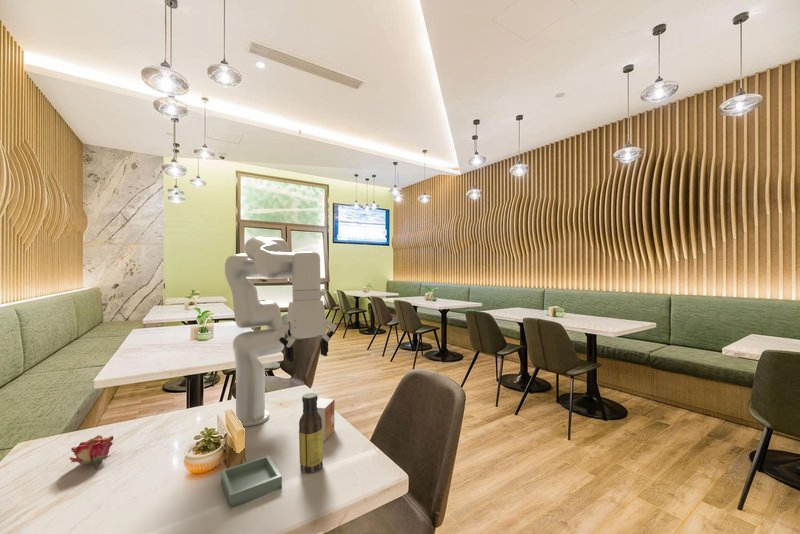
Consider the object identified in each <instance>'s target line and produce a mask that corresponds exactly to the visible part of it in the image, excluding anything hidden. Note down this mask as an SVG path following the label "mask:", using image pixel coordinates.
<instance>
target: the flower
mask: <svg viewBox="0 0 800 534" xmlns="http://www.w3.org/2000/svg"><path fill="white" fill-rule="evenodd" d="M112 441H114V435H110V436H108V437H104V436H102V435H96V436H95V437H93V438H90V439H89V440H87V441H82V442H80V443H79V445H78V446H75V447H74V446H73V447H71V450H70V451H71V452H72V453H73V455H74V456H75V457H73V456H70V457H69V460H70V461H71V463H79V464H81V465H86V466H87V465H88V466H89V465H93V470H95V469H98V464H99V463H102V462H103V461H104V460H107V459H108V458H110V456H111V455H113V454H114V453H115V451H113V452H112V453H111V454H109V452H110V449H111V447H112V446H113V444H114V443H113V442H112Z"/></svg>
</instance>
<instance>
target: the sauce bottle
mask: <svg viewBox="0 0 800 534" xmlns="http://www.w3.org/2000/svg"><path fill="white" fill-rule="evenodd" d="M301 399H302V400H301V402H302V409H303V410H302V415H301V417H300V418H299V420H298V421H299V422H298V427H299V429H298V443H299V445H298V446H299V464H300V465H299V466H300V472H302V473H304V474H314V473H315V472H316V473H317V472H318V471H319V470H321V468H323V465H324V464H323V459H324V444H323V443H324V441H323V435H322V420H321V416H320V415H319V413H318V412H317V400H318V399H319V398H318V394H317V393H316V392H309V393H305V394H303V395H302V396H301Z"/></svg>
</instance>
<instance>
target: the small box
mask: <svg viewBox="0 0 800 534" xmlns="http://www.w3.org/2000/svg"><path fill="white" fill-rule="evenodd" d="M317 412H318V413H319V415H320V416H321V420H322V435H323V442H326V440H327V439H328V438H329V437H330V436H331V434H332V433H333V432H334V431H335V399H334V398H325V397H320V398H318V399H317Z"/></svg>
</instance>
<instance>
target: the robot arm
mask: <svg viewBox="0 0 800 534" xmlns="http://www.w3.org/2000/svg"><path fill="white" fill-rule="evenodd" d="M244 252H245V253H237V254H236V253H235V254H231V255H230V256H228V257H226V260H225V262H224V275H225V278H226V281H227V284H228V286H229V288H230V291H231V295H232V304H233V305H232V306H233V313H234V320H235V321H234V322H235V324H236V326H237V327H238V328H240V329H254V328H260V327H261V328H262V327H265V328H266V329H260V330H253V331H252V330H251V331H245V332H241V333H239V334H238V335H237V336H235V337H234V339H233V341H232V342H233V343H232V349H233V353H234V359H235V414H236V416H237V417H238V419H239V420H240V421H241V423H242V425H243V426H244V427H243V428H246V427H253V426H257V425H260V424H262V423H264V422H266V421H267V420H268V419H269V417H270V411H268V410H267V409H265V408H266V407H265V406H266V397H265V396H266V390H265V389H266V385H265V384H266V372H265V371H266V370H265V367H264V365H263V363H261V361H260V360H259V358H260V357H267V356H272V355H276V354H278V353H281V352H282V351H283V350H284V358H285V359H286V361H288V362H289V363H293V362H294V347H293V346H292V345H293V344H294V342H295V341H296V340H301V339H308V338H316V337H319V338H320V339H321V340H320V342H319V343H320V345H319V348H320V350H319V351H320V355H321V356H324V357H328V352H329V342H330V341H331V338H333V336H334V334H335V331H336V329H337V324H335V323H333V322H331V321H328V320H327V317H326V316H327V315H326V309H325V304H324V301H323V299H322V298H323V297H325V295H326V291H325V290H323V291H322V289H321V256H320V255H319V253H318V252H316V251H297V252H296V251H295V252H290V247H289V244H288V243H287V241H286V240H285V239H283V238H279V237H270V236H269V237H267V236H266V237H265V236H264V237H263V236H255V237H251V238H248V240H247V241H246V242H245V244H244ZM249 277H250V278H253V277H255V278H258V277H265V278H267V279H268V278H269V279H275V280H276V279H291V280H292V301H289V303H288V307H287V314H286V316H287V317H286V324H284V325H283V320H282V313H281V309H280V306H279V305H278V303H277V302H276V301H273V300H264V301H263V300H261V301H260V300H259V296H258V290H257V289H258V288H257V287H256V285H254V283H253V282H252V281H251V280H250V279H248V278H249ZM321 299H322V300H321ZM327 327H329V328H328V331H327ZM285 333H286V336H287V338H286V339H285V335H284V334H285Z"/></svg>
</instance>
